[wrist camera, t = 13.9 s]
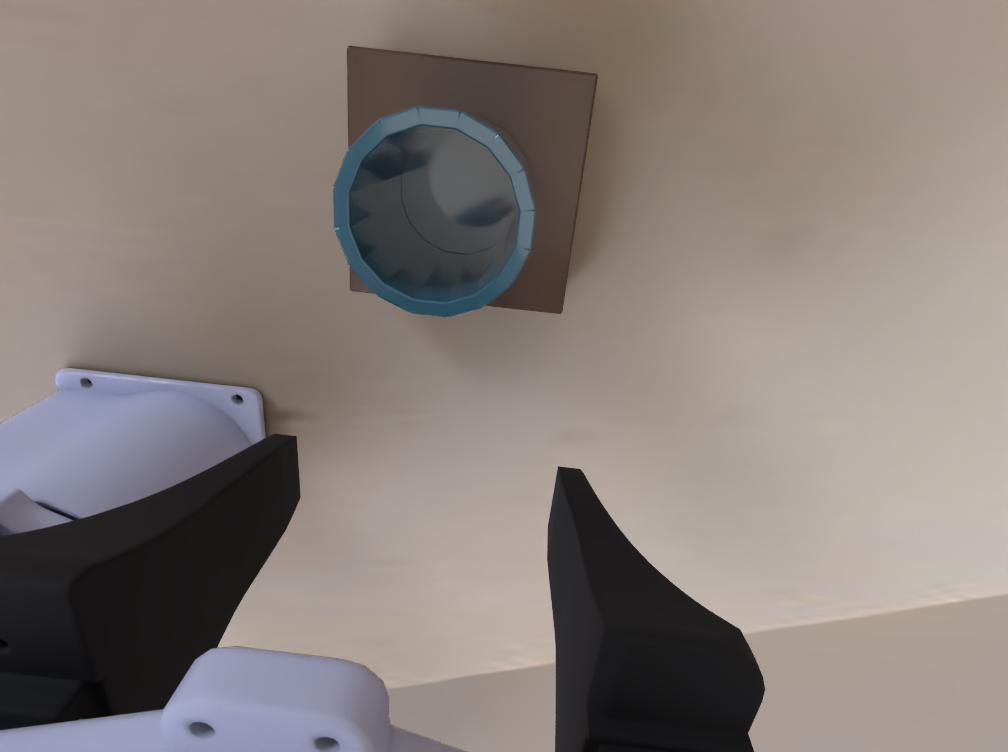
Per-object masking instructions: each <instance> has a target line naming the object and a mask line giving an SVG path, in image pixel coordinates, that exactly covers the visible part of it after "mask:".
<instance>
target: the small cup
mask: <svg viewBox="0 0 1008 752" xmlns="http://www.w3.org/2000/svg"><path fill="white" fill-rule="evenodd" d="M333 202H334V228H335V232H336V234H337V237H338V239H339V242H340V244H341V246H342V249H343V251H344V254H345V256H346V259H347V261H348V263H349V265H350V266H351V268H352V269H353V271H354V272H355V273H356V274H357V275H358V276H359V277H360V278H361V279H362V280H363V281H364V282H365V284H366V285H367V286H368V287H369V288H370V289H371V290H372V291H373V292H374V293H375V294H376V295H377V296H378V297H380V298H382V299H384V300H386V301H388V302H390V303H392V304H394V305H396V306H398V307H400V308H402V309H404V310H406V311H408V312H411V313H414V314H423V315H432V316H441V317H447V316H448V317H451V316H454V315H458V314H461V313H465V312H468V311H472V310H476V309H479V308H482V307H484V306H486V305H487V304H488V303H490V302H491V301H492V300H493V299H495V298H496V297H497V296H498V295H500V294H501V293H502V292H504V291H505V290H506V289H507V288H509V287H510V286H511V285H512V283H514V281H515V279H516V278H517V276H518V274H519V272H520V270H521V269H522V267H523V265H524V263H525V261H526V260H527V258H528V256H529V254H530V252H531V249H532V243H533V235H534V227H535V219H536V202H535V192H534V184H533V180H532V177H531V172H530V169H529V165H528V161H527V158H526V156H525V154H524V153H523V152H522V150H521V149H520V147H519V146H518V144H517V143H516V142H515V141H514V139H513V138H512V137H511V136H510V134H509V133H507V131H505V130H504V129H502V128H500V127H499V126H497V125H496V124H494V123H492V122H490V121H488V120H487V119H485V118H483V117H481V116H478V115H474V114H471V113H467V112H464V111H460V110H454V109H445V108H436V107H427V106H415V107H412V108H409V109H406V110H403V111H400V112H397V113H394V114H392V115H389V116H386V117H383V118H380V119H379V120H377V121H376V122H374V123H373V124H372V125H371V126H370V127H369V128H368V129H367V130H366V131H365V132H364V133H363V134H362V135H361V136H360V137H359V138H358V139H357V140H356V141H355V142H354V143H353V144H352V145H351V146H350V147H349V149H348V150H347V153H346V155H345V158H344V160H343V163H342V166H341V168H340V171H339V173H338V176H337V178H336V181H335V184H334V189H333Z"/></svg>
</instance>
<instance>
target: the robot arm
mask: <svg viewBox="0 0 1008 752" xmlns="http://www.w3.org/2000/svg"><path fill="white" fill-rule="evenodd" d="M87 379H89V380H90V381H91V382H92V384H90V383H89V382H88V380H87ZM55 382H56V386H57V390H58V391H57V392H55V393H54V394H52V395H50V396H48V397H46V398H45V399H43V400H41V401H39V402H37V403H36V404H34V405H32V406H30V407H28V408H27V409H25V410H23V411H21V412H19V413H18V414H16V415H14V416H12V417H10V418H9V419H7V420H5V421H3V422H1V423H0V752H467V751H464V750H461V749H458V748H455V747H453V746H450V745H447V744H444V743H441V742H439V741H436V740H433V739H430V738H427V737H424V736H421V735H419V734H416V733H413V732H411V731H408V730H405V729H402V728H399V727H397V726H394V725H391V724H390V720H389V696H388V693H387V690H386V688H385V685H384V682H383V681H382V679H381V678H380V677H378V676H377V675H376V674H375V673H373V672H372V671H371V670H370V669H368V668H367V667H366V666H365V665H362V664H358V663H355V662H352V661H348V660H345V659H340V658H332V657H323V656H315V655H306V654H298V653H290V652H281V651H273V650H264V649H256V648H247V647H239V646H235V647H222V648H217V646H218V644H219V642H220V640H221V638H222V636H223V634H224V632H225V630H226V628H227V626H228V624H229V622H230V620H231V618H232V616H233V614H234V612H235V610H236V609H237V607H238V605H239V603H240V602H241V600H242V598H243V596H244V595H245V593H246V592H247V590H248V589H249V587H250V585H251V584H252V582H253V581H254V579H255V578H256V576H257V574H258V573H259V571H260V570H261V568H262V567H263V565H264V564H265V562H266V560H267V559H268V557H269V556H270V554H271V553H272V551H273V549H274V548H275V546H276V545H277V543H278V541H279V540H280V538H281V537H282V535H283V533H284V532H285V530H286V528H287V526H288V524H289V522H290V520H291V518H292V516H293V513H294V511H295V509H296V507H297V504H298V502H299V500H300V483H299V467H298V451H297V436H290V435H281V434H273V435H271V436H269V437H267V438H266V434H265V422H264V411H263V400H262V396H261V394H260V393H259V392H258V391H257V390H255V389H253V388H246V387H237V386H228V385H219V384H210V383H201V382H192V381H182V380H173V379H164V378H155V377H146V376H137V375H128V374H119V373H109V372H100V371H91V370H82V369H73V368H64V369H62V370H60V371H58V372H56V374H55ZM236 395H240V396H241V397H242V398H243V401H240V400H239V399H238V398H237V397H236ZM547 560H548V571H549V581H550V590H551V600H552V609H553V619H554V629H555V643H556V734H555V735H556V736H555V752H754V750H753V747H752V744H751V741H750V738H749V735H748V732H749V730H750V727H751V725H752V723H753V721H754V718H755V716H756V714H757V712H758V709H759V707H760V705H761V703H762V699H763V695H764V691H765V687H764V681H763V676H762V674H761V671H760V669H759V666H758V664H757V662H756V659H755V657H754V655H753V653H752V651H751V649H750V647H749V645H748V643H747V642H746V640H745V638H744V636H743V634H742V632H741V630H740V629H738V628H737V627H735V626H733V625H732V624H730V623H729V622H727V621H725V620H724V619H722V618H720V617H719V616H717V615H716V614H714V613H712V612H711V611H709V610H708V609H706V608H705V607H703V606H702V605H700V604H699V603H698V602H696V601H695V600H693V599H692V598H691V597H689V596H688V595H687V594H685V593H684V592H683V591H681V590H680V589H679V588H678V587H676V586H675V585H674V584H673V583H671V582H670V581H669V580H668V579H667V578H666V577H665V576H663V575H662V574H661V573H660V572H659V571H658V570H657V569H656V568H654V567H653V566H652V565H651V564H650V563H649V562H648V561H647V560H646V559H645V558H644V557H643V556H642V555H641V554H640V552H639V551H638V550H637V549H636V548H635V547H634V546H633V545H632V544H631V543H630V542H629V540H628V539H627V538H626V537H625V535H624V534H623V533H622V532H621V530H620V529H619V528H618V526H617V525H616V524H615V522H614V521H613V520H612V518H611V517H610V515H609V514H608V512H607V511H606V509H605V508H604V506H603V505H602V503H601V502H600V500H599V499H598V497H597V495H596V494H595V492H594V491H593V489H592V487H591V486H590V484H589V482H588V480H587V478H586V477H585V475H584V473H583V472H582V471H581V469H575V468H566V467H558V471H557V476H556V482H555V488H554V494H553V500H552V506H551V512H550V518H549V524H548V554H547Z"/></svg>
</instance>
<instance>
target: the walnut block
mask: <svg viewBox="0 0 1008 752" xmlns="http://www.w3.org/2000/svg"><path fill="white" fill-rule="evenodd" d="M597 78H598V76H597V74H596V73H588V72H579V71H570V70H561V69H552V68H543V67H534V66H525V65H516V64H508V63H499V62H490V61H481V60H472V59H463V58H454V57H445V56H436V55H427V54H418V53H409V52H400V51H391V50H383V49H374V48H365V47H356V46H348V48H347V81H348V149H349V147H350V146H351V145H352V144H353V143H354V142H355V141H356V140H357V139H358V138H359V137H360V136H361V135H362V134H363V133H364V132H365V131H366V130H367V129H368V128H369V127H370V126H371V125H372V124H373V123H374V122H376V121H377V120H379V119H380V118H383V117H386V116H389V115H392V114H394V113H397V112H400V111H403V110H406V109H409V108H412V107H415V106H427V107H436V108H445V109H454V110H460V111H464V112H467V113H471V114H474V115H478V116H481V117H483V118H485V119H487V120H488V121H490V122H492V123H494V124H496V125H497V126H499V127H500V128H502V129H504V130H505V131H507V133H509V134H510V136H511V137H512V138H513V139H514V141H515V142H516V143H517V144H518V146H519V147H520V149H521V150H522V152H523V153H524V154H525V156H526V158H527V161H528V165H529V169H530V172H531V177H532V180H533V184H534V192H535V202H536V219H535V227H534V235H533V243H532V249H531V252H530V254H529V256H528V258H527V260H526V261H525V263H524V265H523V267H522V269H521V270H520V272H519V274H518V276H517V278H516V279H515V281H514V283H512V285H511V286H510V287H509V288H507V289H506V290H505V291H504V292H502V293H501V294H500V295H498V296H497V297H496V298H495V299H493V300H492V301H491V302H490V303H488V304H487V305H486V306H493V307H502V308H511V309H520V310H529V311H538V312H547V313H557V314H561V313H562V310H563V304H564V297H565V290H566V284H567V277H568V270H569V264H570V257H571V251H572V244H573V237H574V231H575V224H576V217H577V211H578V204H579V198H580V191H581V184H582V178H583V171H584V164H585V158H586V151H587V145H588V138H589V131H590V125H591V118H592V112H593V105H594V98H595V92H596V85H597ZM350 289H351V291H356V292H365V293H374V292H373V291H372V290H371V289H370V288H369V287H368V286H367V285H366V284H365V282H364V281H363V280H362V279H361V278H360V277H359V276H358V275H357V274H356V273H355V272H354V271H353V269H352V268H351V266H350ZM374 294H375V293H374Z"/></svg>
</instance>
